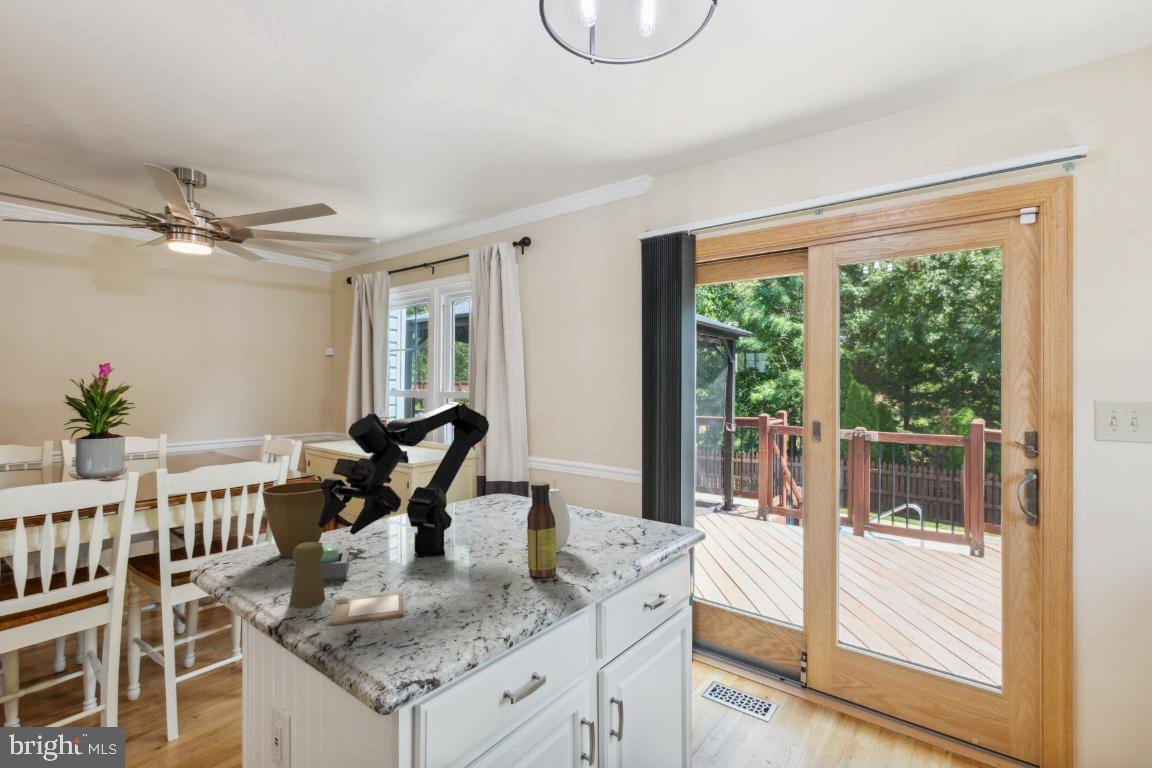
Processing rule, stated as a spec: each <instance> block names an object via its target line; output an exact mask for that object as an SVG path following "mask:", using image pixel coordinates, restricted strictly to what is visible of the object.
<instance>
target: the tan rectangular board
mask: <svg viewBox="0 0 1152 768" xmlns="http://www.w3.org/2000/svg"><path fill="white" fill-rule="evenodd" d="M332 609H333V610H332V613H331V617H330V621H329V626H338V625H343V624H345V625H346V624H352V623H353V624H354V623H362V622H368V621H376V620H385V619H391V618H392V619H393V618H401V617H404V615H405V614H404V612H405V611H404V593H403V592H402V591H401V592H395V593H385V594H376V595H375V594H374V595H366V596H365V595H364V596H358V597H348V598H342V599H341V598H340V599H335V600H334V605H333V608H332Z"/></svg>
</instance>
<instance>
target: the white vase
mask: <svg viewBox="0 0 1152 768" xmlns="http://www.w3.org/2000/svg"><path fill="white" fill-rule="evenodd" d="M560 492H561V491H560V489H558V488H556V479H553V488H550V489H549V504H550V507H551V510H552V512H553V514H554V518H555V527H556V551H557V552H560V551H561V550H562V548H564V547H566V545H567V542H568V541H569V537H570V532H571V519H570V513H569V509H568V506H567V503H566V500H565V499H564V497H563V495H562V493H560Z"/></svg>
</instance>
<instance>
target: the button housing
mask: <svg viewBox="0 0 1152 768" xmlns="http://www.w3.org/2000/svg"><path fill="white" fill-rule="evenodd" d="M349 569H350V550H348V551H347V550H346V551H339V562H328V563H321V571H322V578H323V581H324V582H332V581H333V582H334V581H342V580H341V579H344V580H347V578H348V574H347V573H348V572H349Z"/></svg>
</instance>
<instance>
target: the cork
mask: <svg viewBox="0 0 1152 768" xmlns="http://www.w3.org/2000/svg"><path fill="white" fill-rule="evenodd" d="M323 547H324V546H323V545H322V544H321V543H320V542H319V543H318V542H306V543H302V544H299V545H297V546H296V547H295V548H294V550H293V558H292V559H293V561H294V562H295V565H294V566H295V567H294V573H293V579H292V586H291V591H290V600H289V606H290V607H291V606H292V607H291V608H293V607H295V608H294V609H308V607H309V608H314V607H316V606H319V605H321V604H323V603H324V602H325V601H326V595H325V587H324V582H323V578H322V571H321V563H320V559H321V558H322V556H323ZM313 606H314V607H313Z"/></svg>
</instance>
